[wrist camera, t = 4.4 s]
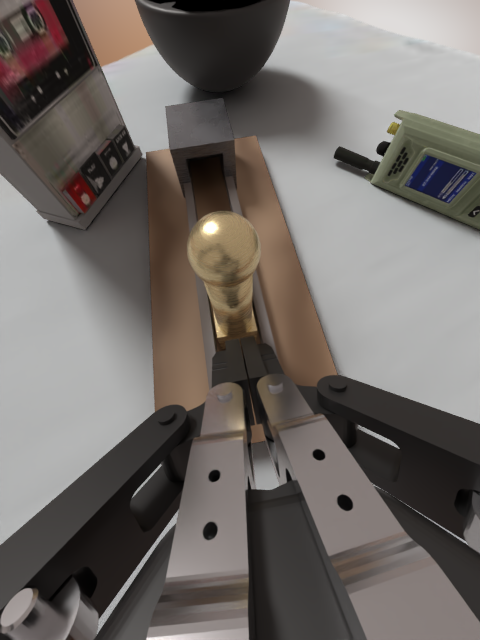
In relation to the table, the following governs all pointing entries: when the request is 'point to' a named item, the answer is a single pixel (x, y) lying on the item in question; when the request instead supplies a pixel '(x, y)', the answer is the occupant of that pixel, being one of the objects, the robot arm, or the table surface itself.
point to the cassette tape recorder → (58, 114)
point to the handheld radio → (427, 166)
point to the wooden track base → (190, 292)
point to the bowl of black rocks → (214, 37)
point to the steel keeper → (200, 137)
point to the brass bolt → (227, 270)
